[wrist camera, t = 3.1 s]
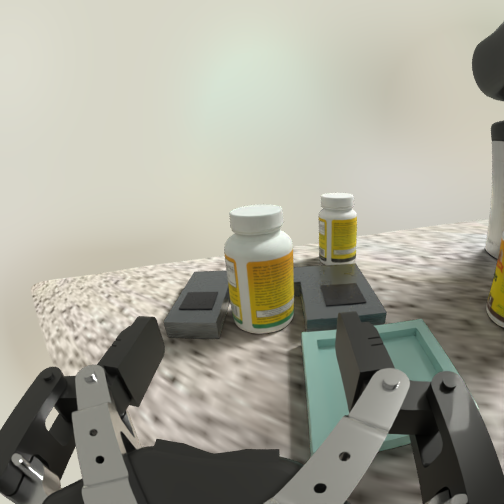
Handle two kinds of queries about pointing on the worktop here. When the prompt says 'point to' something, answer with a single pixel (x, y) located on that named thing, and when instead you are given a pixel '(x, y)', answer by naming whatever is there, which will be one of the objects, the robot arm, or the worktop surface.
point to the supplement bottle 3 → (497, 290)
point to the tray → (330, 382)
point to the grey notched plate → (305, 285)
